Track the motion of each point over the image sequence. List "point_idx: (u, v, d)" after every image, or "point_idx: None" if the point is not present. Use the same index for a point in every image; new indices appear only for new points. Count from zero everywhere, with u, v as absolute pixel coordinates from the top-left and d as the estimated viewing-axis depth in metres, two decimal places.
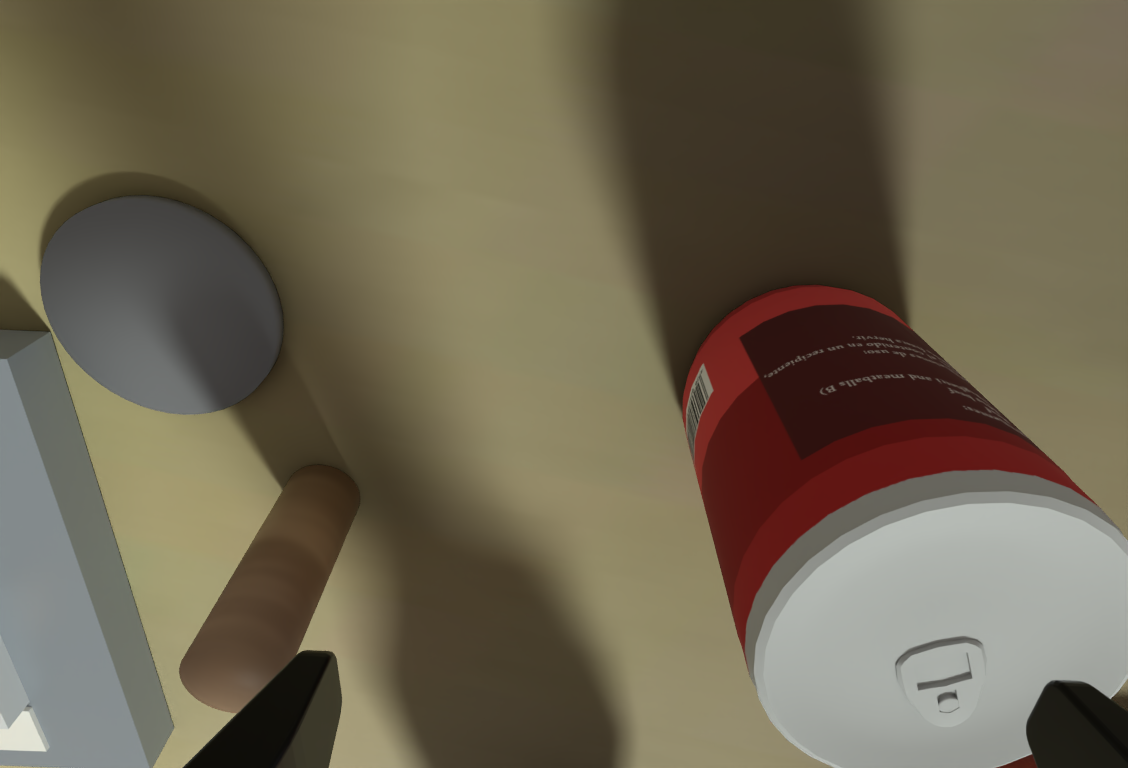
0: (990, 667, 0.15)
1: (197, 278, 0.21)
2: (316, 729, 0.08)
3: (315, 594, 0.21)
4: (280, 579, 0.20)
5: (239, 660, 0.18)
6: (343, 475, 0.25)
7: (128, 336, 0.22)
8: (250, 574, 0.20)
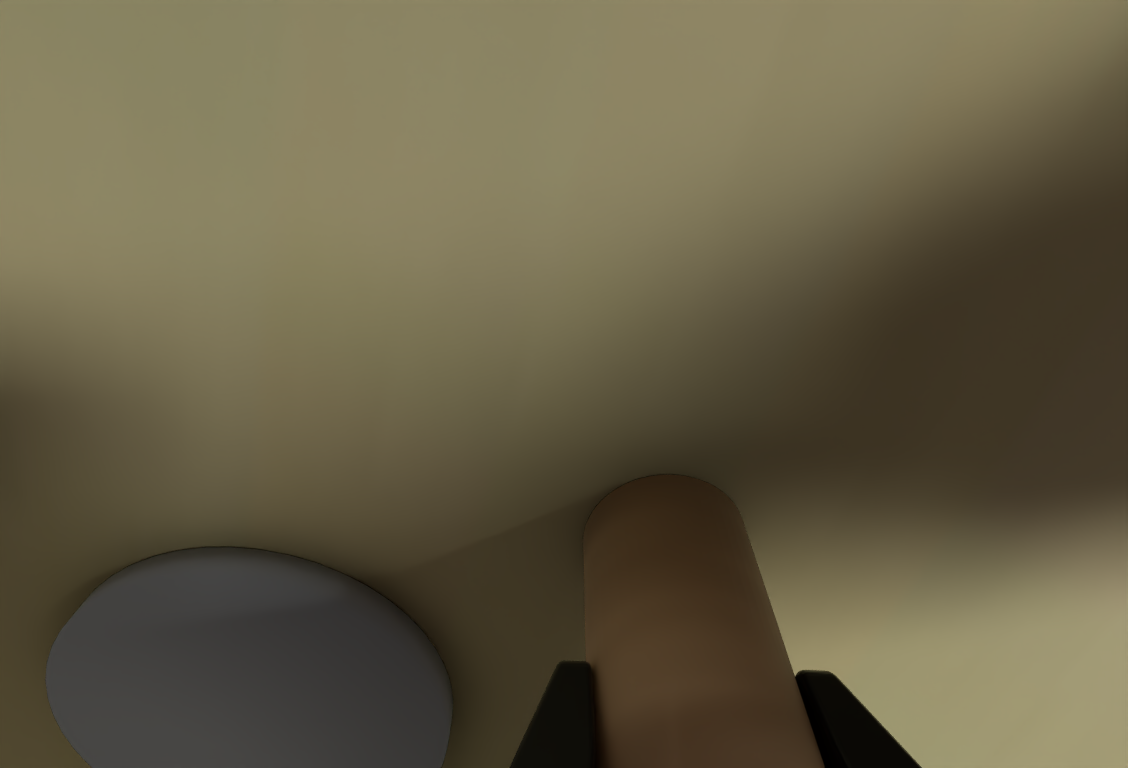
0: None
1: (165, 666, 0.12)
2: None
3: None
4: None
5: None
6: (606, 502, 0.11)
7: (302, 765, 0.13)
8: None
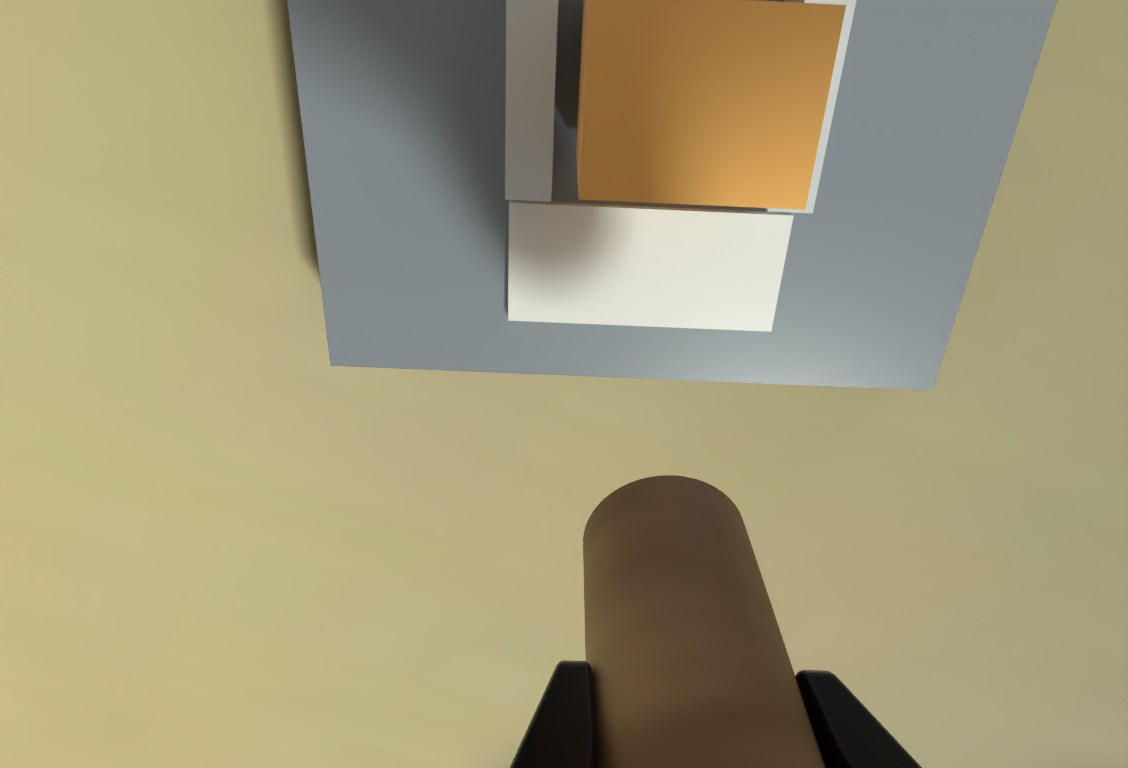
0: None
1: None
2: None
3: None
4: None
5: None
6: (607, 503, 0.11)
7: None
8: None
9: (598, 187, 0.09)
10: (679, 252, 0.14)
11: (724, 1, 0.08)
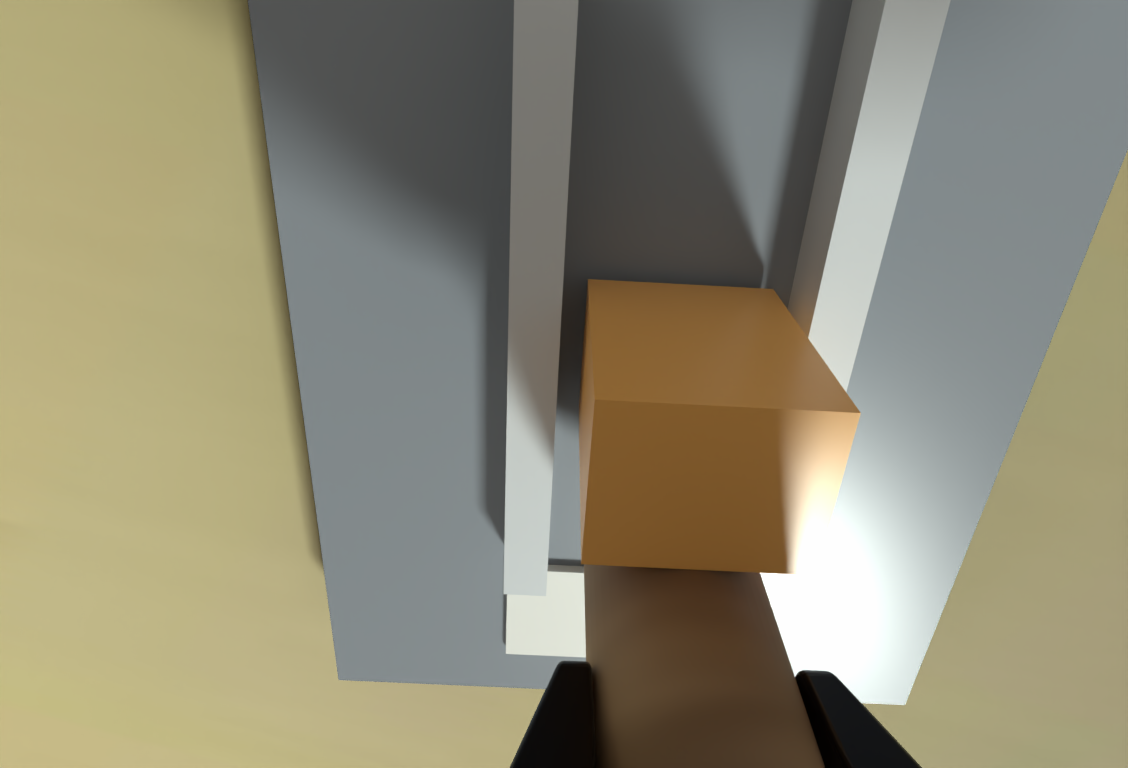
0: None
1: None
2: None
3: None
4: None
5: None
6: None
7: None
8: None
9: (601, 555, 0.09)
10: None
11: (734, 410, 0.08)
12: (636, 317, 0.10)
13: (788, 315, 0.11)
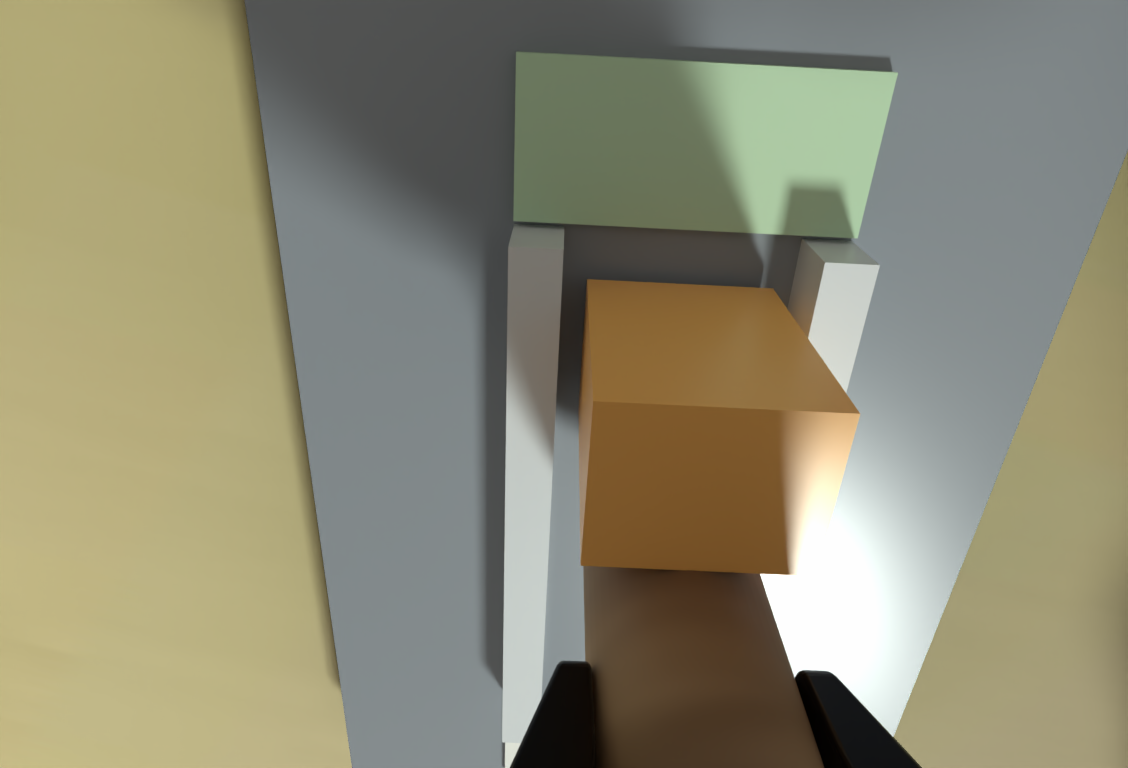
0: None
1: None
2: None
3: None
4: None
5: None
6: None
7: None
8: None
9: (600, 556, 0.09)
10: None
11: (733, 411, 0.08)
12: (635, 317, 0.10)
13: (787, 314, 0.11)
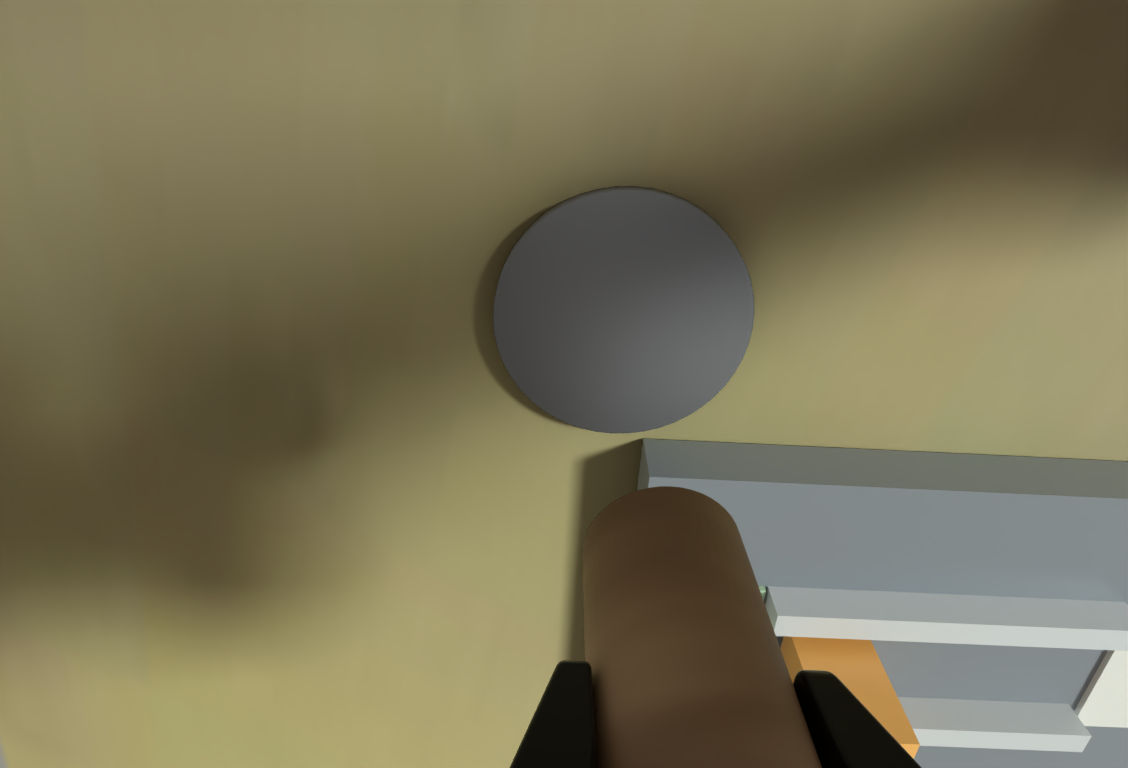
0: None
1: (580, 271, 0.19)
2: None
3: None
4: None
5: None
6: (606, 513, 0.11)
7: (646, 362, 0.20)
8: None
9: None
10: None
11: None
12: None
13: (796, 654, 0.21)
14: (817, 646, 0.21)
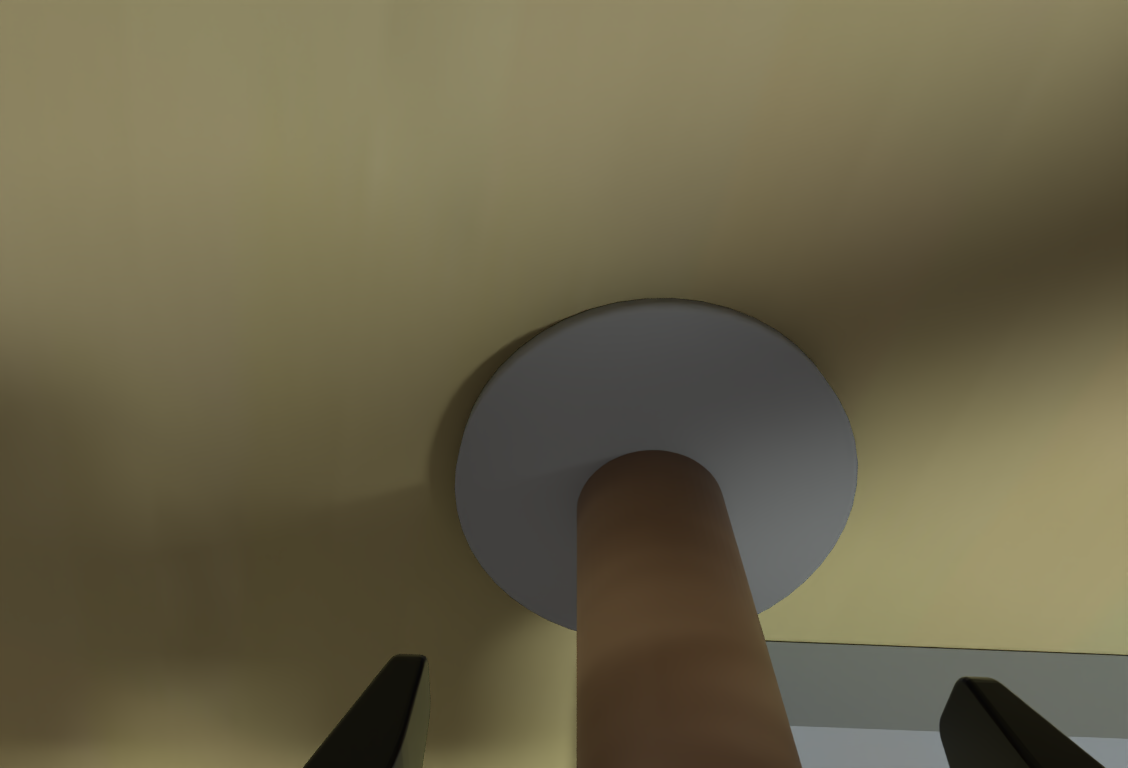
0: None
1: (588, 428, 0.12)
2: (416, 733, 0.08)
3: (690, 708, 0.08)
4: None
5: None
6: (598, 474, 0.12)
7: None
8: None
9: None
10: None
11: None
12: None
13: None
14: None
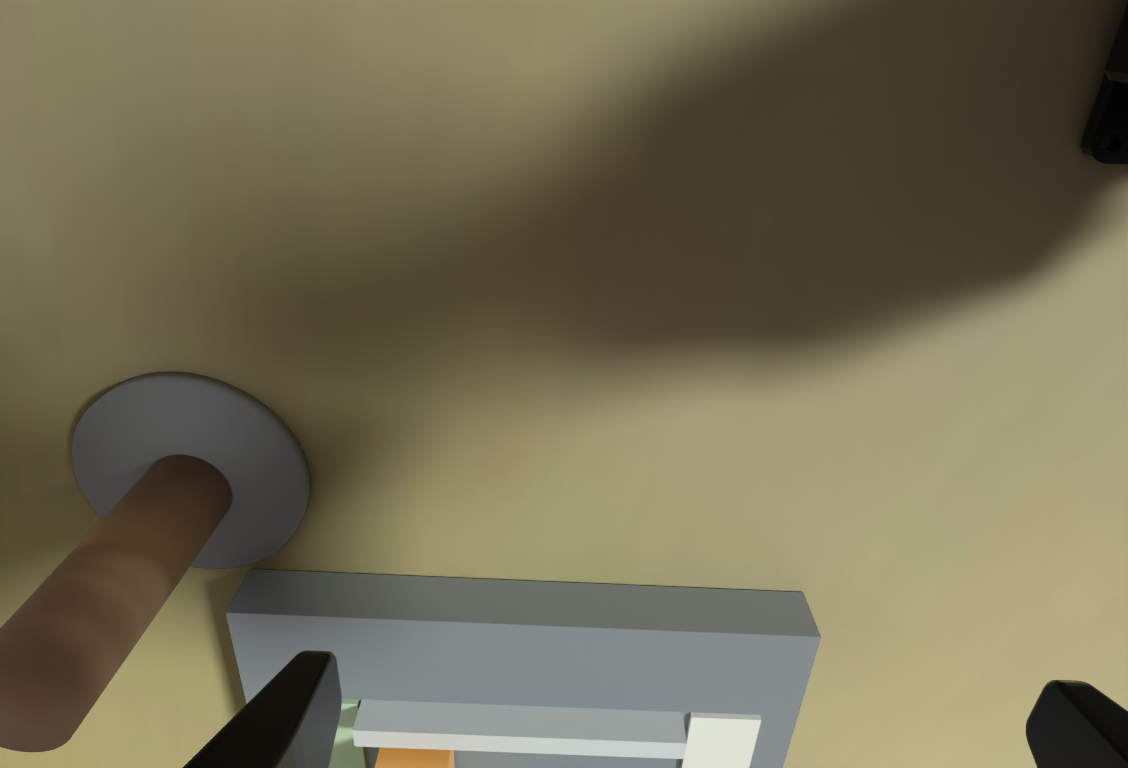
0: None
1: (139, 442, 0.22)
2: (316, 729, 0.08)
3: (73, 568, 0.17)
4: None
5: None
6: (149, 468, 0.22)
7: None
8: None
9: None
10: (706, 757, 0.26)
11: None
12: None
13: (376, 762, 0.24)
14: (398, 754, 0.24)
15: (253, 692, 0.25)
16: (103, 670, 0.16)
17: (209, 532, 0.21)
